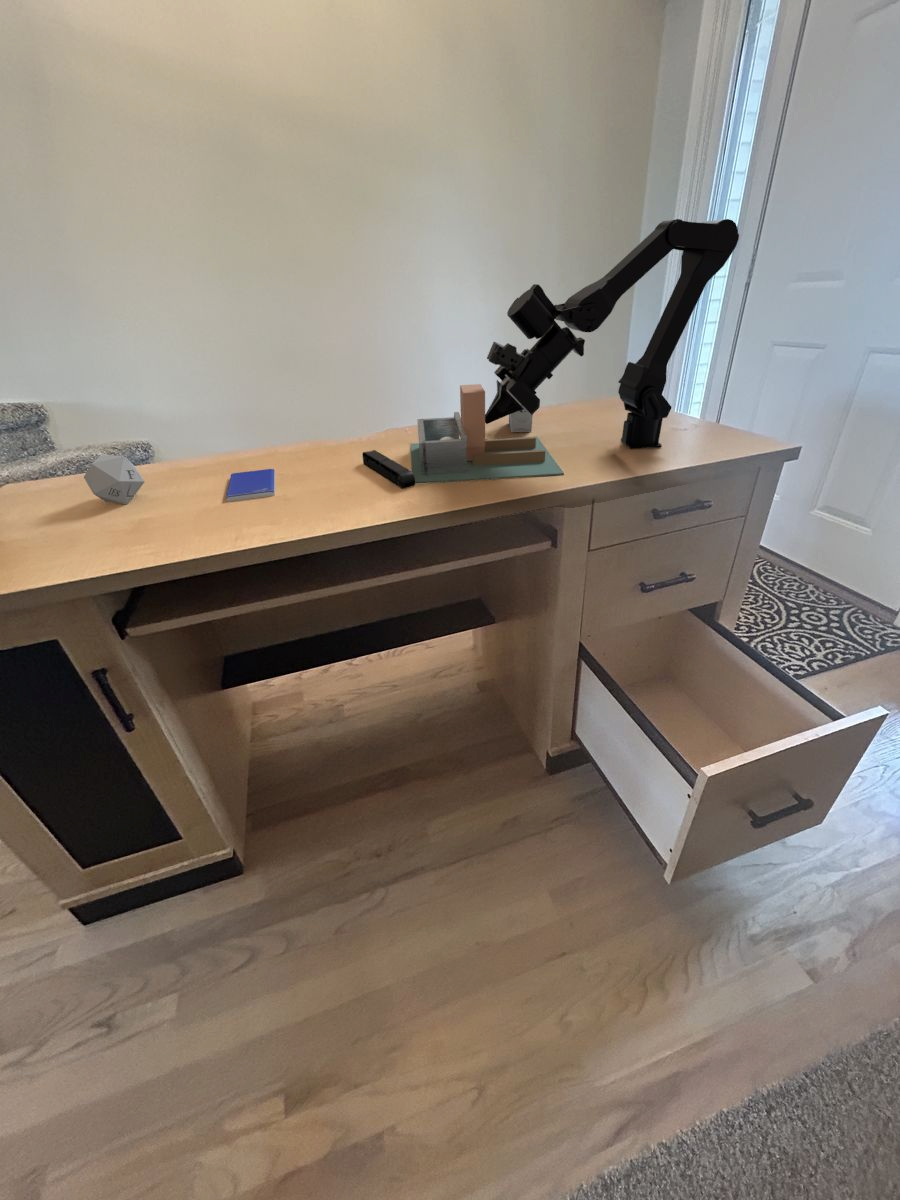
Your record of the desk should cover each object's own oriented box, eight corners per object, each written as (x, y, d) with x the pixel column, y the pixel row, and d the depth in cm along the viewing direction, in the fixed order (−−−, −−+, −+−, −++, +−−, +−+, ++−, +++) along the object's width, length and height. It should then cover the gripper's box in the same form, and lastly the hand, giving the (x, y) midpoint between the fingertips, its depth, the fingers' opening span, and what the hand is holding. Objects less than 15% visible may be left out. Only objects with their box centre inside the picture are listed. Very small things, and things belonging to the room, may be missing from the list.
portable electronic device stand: (416, 488, 95) (414, 472, 94) (403, 491, 94) (401, 475, 93) (374, 462, 108) (372, 448, 107) (362, 465, 107) (360, 450, 106)
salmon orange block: (480, 450, 110) (480, 384, 102) (485, 461, 104) (485, 391, 97) (461, 451, 109) (460, 385, 102) (464, 462, 103) (463, 392, 96)
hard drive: (273, 489, 94) (274, 468, 104) (225, 496, 92) (230, 473, 102) (275, 498, 95) (275, 475, 105) (227, 504, 93) (232, 481, 103)
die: (99, 517, 90) (119, 470, 87) (66, 486, 92) (84, 439, 88) (141, 515, 98) (160, 472, 95) (110, 487, 99) (128, 443, 96)
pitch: (536, 437, 117) (537, 427, 116) (563, 474, 97) (564, 462, 96) (410, 445, 116) (410, 434, 115) (411, 484, 96) (410, 471, 95)
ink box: (508, 423, 129) (509, 371, 122) (529, 422, 128) (531, 370, 122) (511, 433, 121) (512, 378, 115) (533, 432, 121) (535, 377, 115)
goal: (459, 445, 114) (458, 411, 110) (467, 472, 99) (466, 435, 96) (419, 447, 113) (416, 414, 110) (421, 475, 99) (418, 437, 95)
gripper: (506, 319, 102) (450, 383, 107) (524, 330, 86) (458, 404, 92) (544, 361, 106) (489, 420, 112) (568, 379, 91) (503, 446, 96)
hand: (484, 421), depth 103 cm, fingers closed
